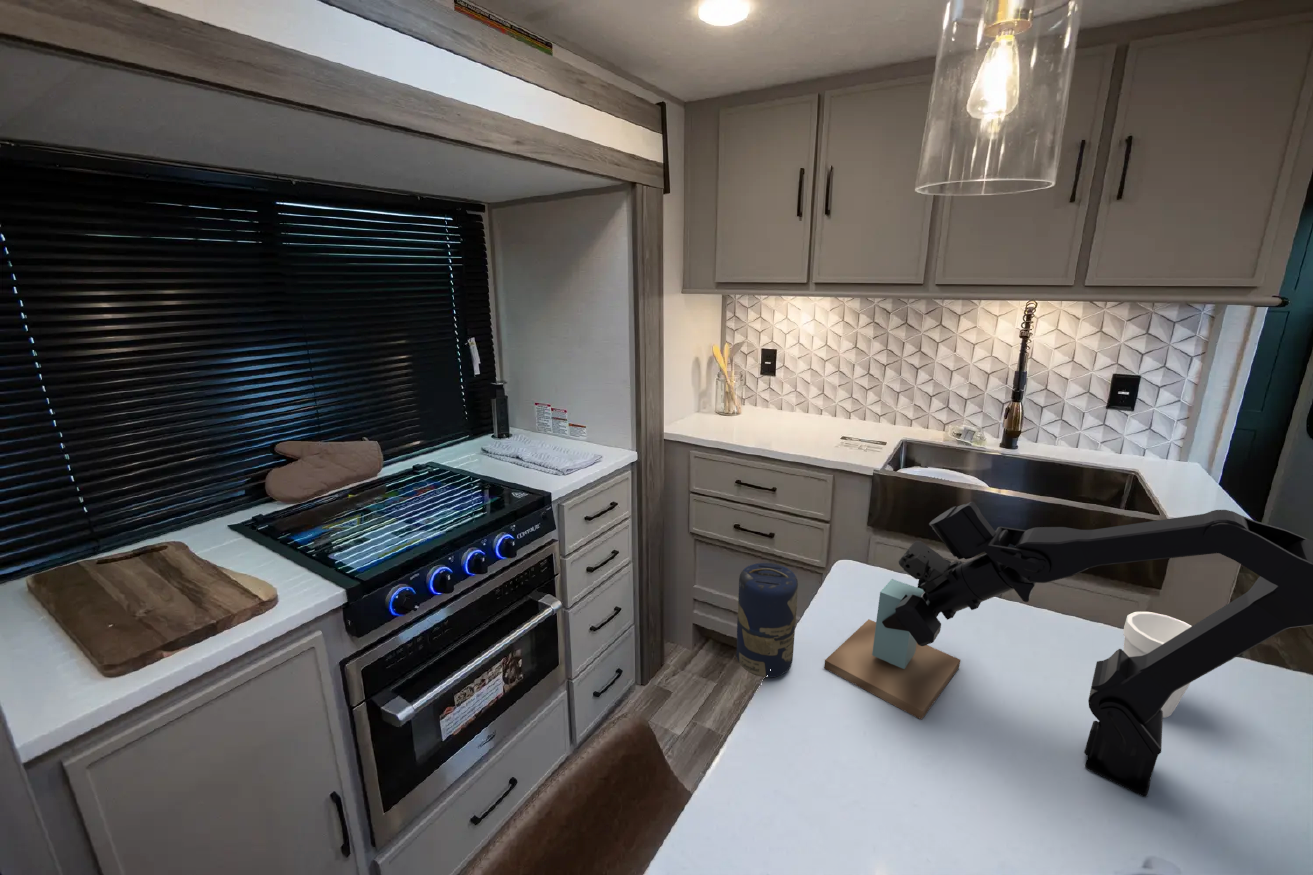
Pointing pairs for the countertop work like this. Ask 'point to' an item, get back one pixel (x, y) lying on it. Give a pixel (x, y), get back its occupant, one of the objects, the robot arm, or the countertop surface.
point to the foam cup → (1153, 642)
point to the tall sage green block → (888, 641)
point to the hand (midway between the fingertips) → (890, 616)
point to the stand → (893, 672)
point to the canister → (766, 619)
